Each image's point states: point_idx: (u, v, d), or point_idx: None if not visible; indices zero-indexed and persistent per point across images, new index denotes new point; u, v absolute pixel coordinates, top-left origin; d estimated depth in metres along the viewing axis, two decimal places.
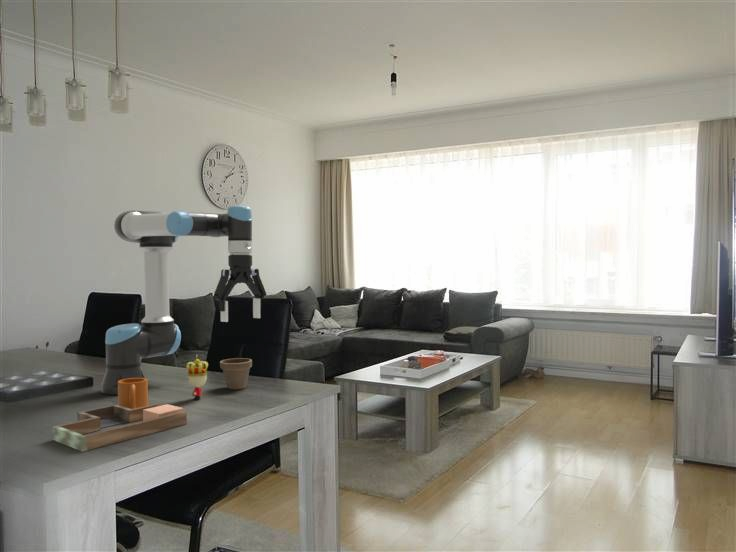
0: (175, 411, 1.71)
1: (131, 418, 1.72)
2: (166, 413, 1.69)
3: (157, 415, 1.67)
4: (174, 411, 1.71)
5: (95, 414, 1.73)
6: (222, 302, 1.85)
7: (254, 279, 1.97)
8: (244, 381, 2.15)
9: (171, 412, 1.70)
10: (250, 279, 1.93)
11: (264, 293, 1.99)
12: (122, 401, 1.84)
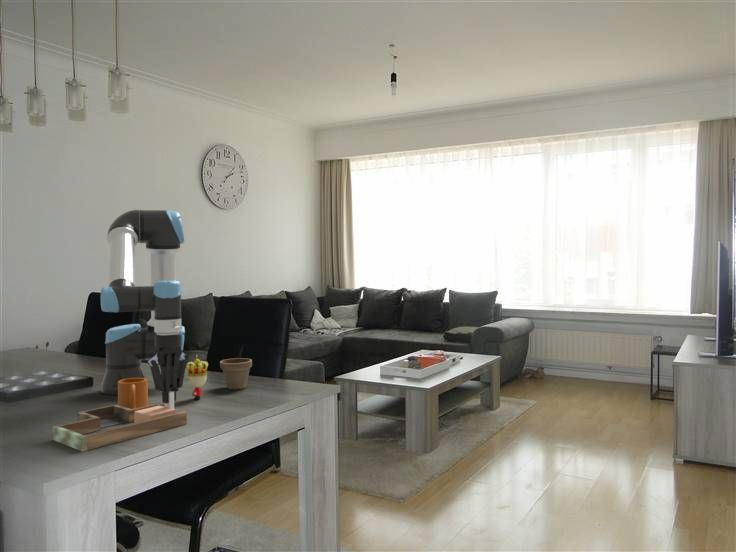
0: (167, 413, 1.69)
1: (131, 418, 1.72)
2: (158, 415, 1.67)
3: (149, 417, 1.65)
4: (166, 413, 1.69)
5: (95, 414, 1.73)
6: (165, 393, 1.72)
7: (179, 364, 1.77)
8: (244, 381, 2.15)
9: (163, 414, 1.68)
10: (175, 363, 1.74)
11: (180, 384, 1.76)
12: (122, 401, 1.84)
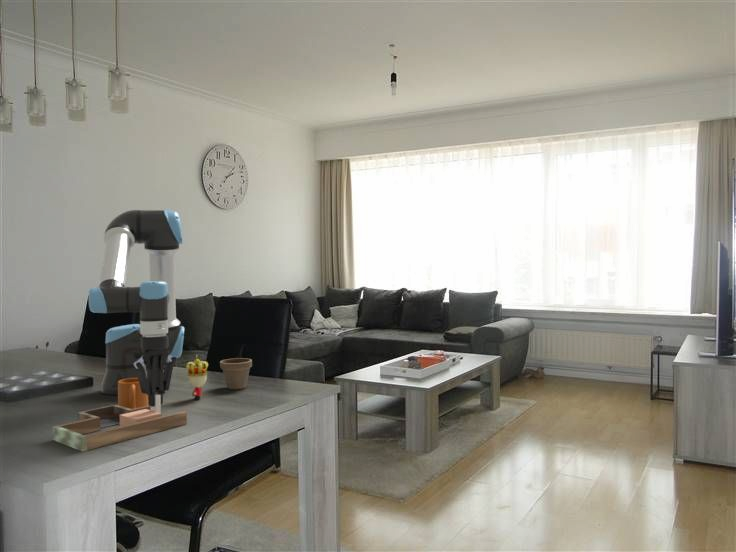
0: (153, 416, 1.66)
1: None
2: (143, 418, 1.63)
3: (134, 421, 1.62)
4: (152, 416, 1.65)
5: (95, 414, 1.73)
6: (152, 396, 1.69)
7: (166, 367, 1.74)
8: (244, 381, 2.15)
9: (148, 417, 1.65)
10: (162, 365, 1.70)
11: (167, 387, 1.72)
12: (122, 401, 1.84)
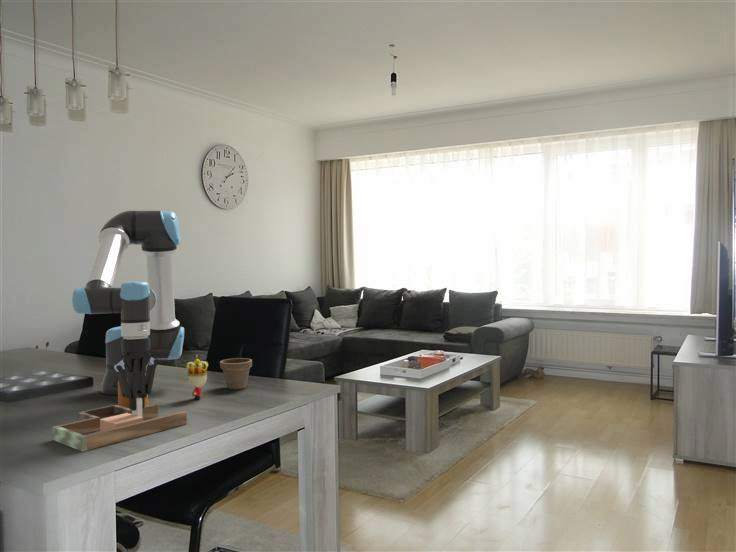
0: (134, 421, 1.61)
1: None
2: (124, 423, 1.59)
3: (114, 425, 1.57)
4: (133, 421, 1.61)
5: (95, 414, 1.73)
6: (133, 400, 1.64)
7: (148, 370, 1.69)
8: (244, 381, 2.15)
9: (129, 422, 1.60)
10: (143, 368, 1.66)
11: (149, 390, 1.68)
12: (122, 401, 1.84)
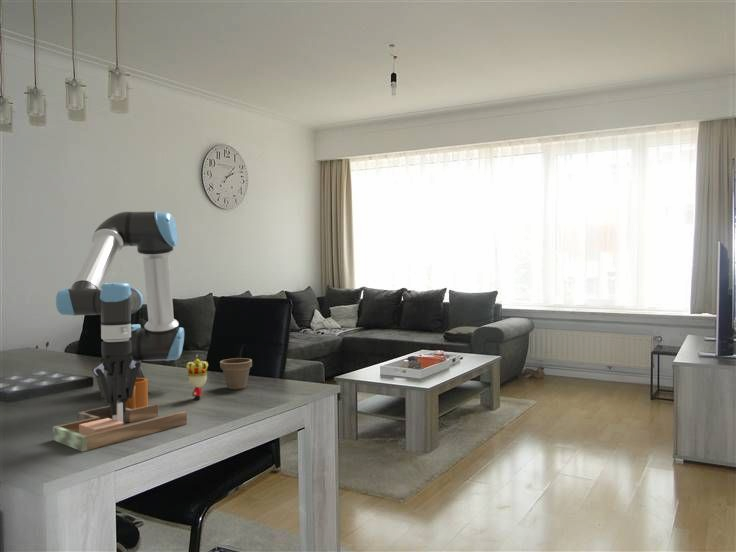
0: (114, 426, 1.56)
1: (131, 418, 1.72)
2: (103, 428, 1.54)
3: (93, 431, 1.52)
4: (113, 426, 1.56)
5: (95, 414, 1.73)
6: (113, 405, 1.60)
7: (129, 373, 1.65)
8: (244, 381, 2.15)
9: (109, 427, 1.55)
10: (124, 371, 1.61)
11: (130, 394, 1.63)
12: None
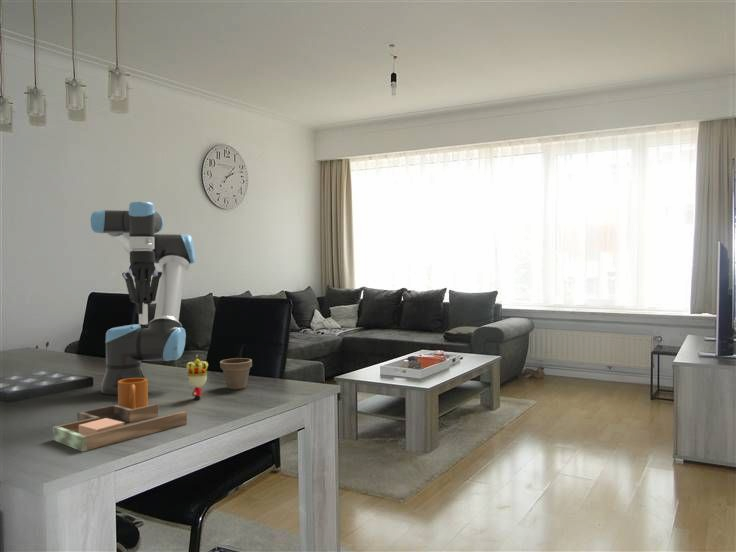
0: (115, 426, 1.57)
1: (131, 418, 1.72)
2: (105, 428, 1.54)
3: (95, 431, 1.53)
4: (114, 426, 1.56)
5: (95, 414, 1.73)
6: (139, 305, 1.88)
7: (152, 280, 1.93)
8: (244, 381, 2.15)
9: (110, 427, 1.56)
10: (149, 277, 1.90)
11: (153, 298, 1.92)
12: (122, 401, 1.84)
